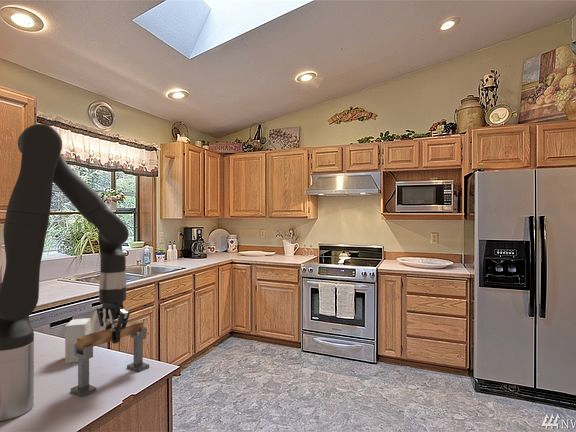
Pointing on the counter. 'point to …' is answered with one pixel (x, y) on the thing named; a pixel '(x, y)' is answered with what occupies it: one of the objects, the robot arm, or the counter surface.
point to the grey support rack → (85, 355)
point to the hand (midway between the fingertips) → (112, 341)
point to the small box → (75, 336)
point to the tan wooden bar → (107, 335)
